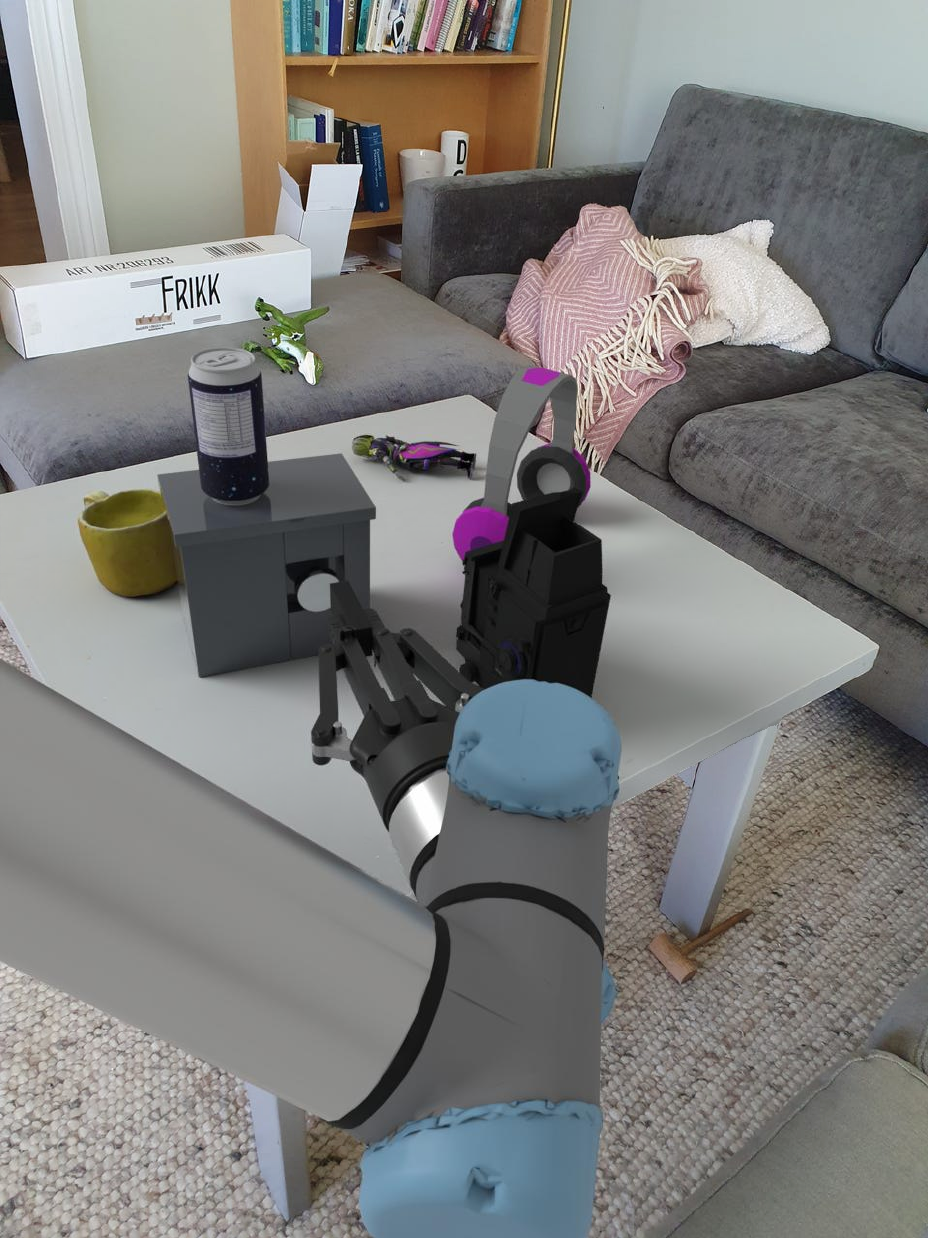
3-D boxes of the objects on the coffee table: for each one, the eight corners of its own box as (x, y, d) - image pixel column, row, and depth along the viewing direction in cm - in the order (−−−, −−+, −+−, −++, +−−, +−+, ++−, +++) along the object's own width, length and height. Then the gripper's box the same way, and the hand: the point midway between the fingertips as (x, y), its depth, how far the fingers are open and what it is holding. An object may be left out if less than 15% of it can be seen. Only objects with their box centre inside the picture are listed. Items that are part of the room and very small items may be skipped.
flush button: (298, 615, 81) (296, 577, 78) (294, 606, 82) (292, 569, 79) (342, 607, 82) (341, 570, 80) (338, 599, 83) (337, 562, 81)
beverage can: (283, 495, 79) (275, 359, 72) (229, 517, 75) (215, 377, 68) (242, 472, 82) (230, 340, 75) (188, 492, 78) (170, 356, 71)
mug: (221, 568, 93) (173, 486, 87) (132, 625, 90) (76, 543, 84) (181, 535, 102) (135, 458, 96) (99, 585, 99) (46, 509, 93)
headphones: (517, 596, 96) (538, 417, 84) (443, 570, 99) (454, 394, 87) (590, 514, 111) (617, 353, 99) (525, 494, 114) (543, 335, 102)
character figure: (477, 460, 122) (359, 441, 122) (480, 434, 119) (361, 415, 120) (467, 493, 114) (342, 472, 115) (471, 466, 112) (343, 445, 113)
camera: (514, 629, 91) (535, 443, 79) (603, 708, 82) (642, 512, 70) (429, 660, 86) (438, 467, 74) (513, 747, 77) (540, 544, 66)
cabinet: (194, 681, 82) (173, 534, 73) (177, 613, 90) (157, 474, 81) (375, 647, 87) (376, 507, 78) (344, 586, 95) (341, 452, 86)
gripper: (341, 875, 56) (261, 648, 73) (534, 821, 60) (414, 619, 78) (338, 789, 51) (254, 569, 69) (546, 738, 56) (417, 543, 73)
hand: (339, 596), depth 73 cm, fingers closed
